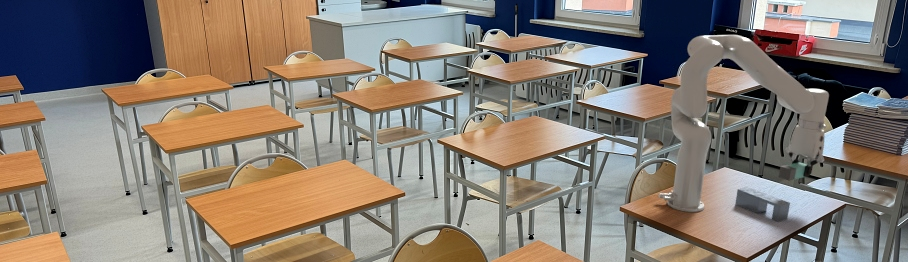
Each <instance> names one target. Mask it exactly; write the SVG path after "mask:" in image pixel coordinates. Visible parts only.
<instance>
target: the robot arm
mask: <svg viewBox="0 0 908 262" xmlns="http://www.w3.org/2000/svg"><path fill="white" fill-rule="evenodd" d="M687 53H688V56H690V57H689V58H688V59H687V60H686V62H685V63H684V64H683V66H682V69H681V72H680V86H679V87H677V88H676V89H675V90H674V91H673V93H672V95H671V99H670V116H671V118H670V119H671V127H672V128H671V129H672V132H673V134H674V136H675V137H676V138H677V139H678V140H679V141H681V143H680V146H679V147H680V148H679V149H678V152H677V157H676V166H675V172H674V173H675V175H674V183H673V188H672V189H671V190H670V192H668V193H665V192H658V193H659V194H658V198H659V199H663V201H666V202H667V206H668V207H670V208H672V209H674V210H677V211H682V212H686V213H699V212H702V211H703V210H704V209H705V204H704V202H703V201H701V199H702V198H701V197H702V192H703V191H702V190H703V183H704V176H705V170H706V162H707V156H708V152H709V148H710V145H711V142H712V133H711V129H710V128H709V127H708V126H707V125H706V124H705V123H704V122H703V121H701V120H699V118H702V117H704V115H705V114H707V113H706V112H707V110H708V85H707V84H708V75H709V73H710V72H711V70H712V69H713V68H714V67H715V66H716V65H717V64H718V63H720V62H721V61H722V59H723V60H725V59H730V60H731V61H733V62H734V63H735V64H737V65H738V66H739V67H740V68H741V69H742V70H743V71H744V72H745V73H746V74H747V75H749V76H750V78H752V79H753V80H754V81H755V83H757V84H759V85H760V86H762V87H763V88H765V89H766V90H769V91H771V92H772V93H773V94H775V95H776V100H777V103H778V104H779V105H781V106H782V107H784V108H786V109H787V110H790V111H792V112H794V113H796V114H799V118H798V122H797V123H798V124H797V125H795V127H794V129H793V132H792V135H791V138H790V141H789V144H788V146H786V148H785V149H784V150H785V152H786V153H787V154H788V155H789V157H790V161H791V164H793V163H798V162H800V160H799V159H800V157H801V156H802V157H806V161H807V162H806V164H807V165H806V166H805V170H804V175H803V176H805V177H804V178H806V176H807V177H810V176H811V175H812V172H813V166H815V165H816V164H819V163H822V162H824V161H825V158H824V157H825V156H823V155H824V148H825V137H826V136H825V130H824V129H826V128H827V125H826V124H825V121H824V120H825V117H826V112H827V106H828V103H829V97H830V94H829V92H828V91H826V90H824V89H820V88H805V86H803V84H801V83H800V82H799V81H797V80H796V79H795V78H794V77H793V76H792V75H790V74H789V73H788V72H787V71H786V70H784V68H782V67H781V66H779V65H778V63H776V62H775V61H774V60H773V59H772V58H770V57H769V55H768V54H767V53H765V52H764V51H763V50H762V48H760V47H759V46H758V45H757V44H756V43H755V42H754V41H752V40H751V39H750V38H747V37H744V36H742V35H738V34H717V35H715V34H714V35H699V36H696V37H694V38H692V39H691V40H690V41H689V43H688V45H687Z"/></svg>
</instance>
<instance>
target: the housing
mask: <svg viewBox="0 0 908 262" xmlns="http://www.w3.org/2000/svg"><path fill="white" fill-rule="evenodd" d="M735 199H736V200H735V204H734V205H736V206H738V207H741V208H742V209H745V210H748V211H751V212H753V213H755V214H760V213H763V212H766V211H768V210H767V209H768V205H771V206H773V209H772V214H771V215H772V216H771V220H773V221H775V222H778V223H779V222H781V221H785V220H788V217H789V210H790V206H791V202H789V201H787V200H784V199H782V198H781V199H780V198H778V197H775V196H773V195H770V194H767V193H764V192H762V191H759V190H756V189H754V188H751V187H748V186H745V187H740V188H738V189H737V191H736V197H735Z"/></svg>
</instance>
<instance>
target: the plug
mask: <svg viewBox="0 0 908 262" xmlns="http://www.w3.org/2000/svg"><path fill="white" fill-rule="evenodd" d="M806 165H807V163H803V162H800V161H799V162H798V163H793V164H792V163H790V164H785V165H780V168H779V172H778V178H781V179H783V180H786V181H789V182H790V181H794V180H798V179H803V178H806V177H808V176H806V177H805V176H803V175H804V170H805V166H806Z"/></svg>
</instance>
